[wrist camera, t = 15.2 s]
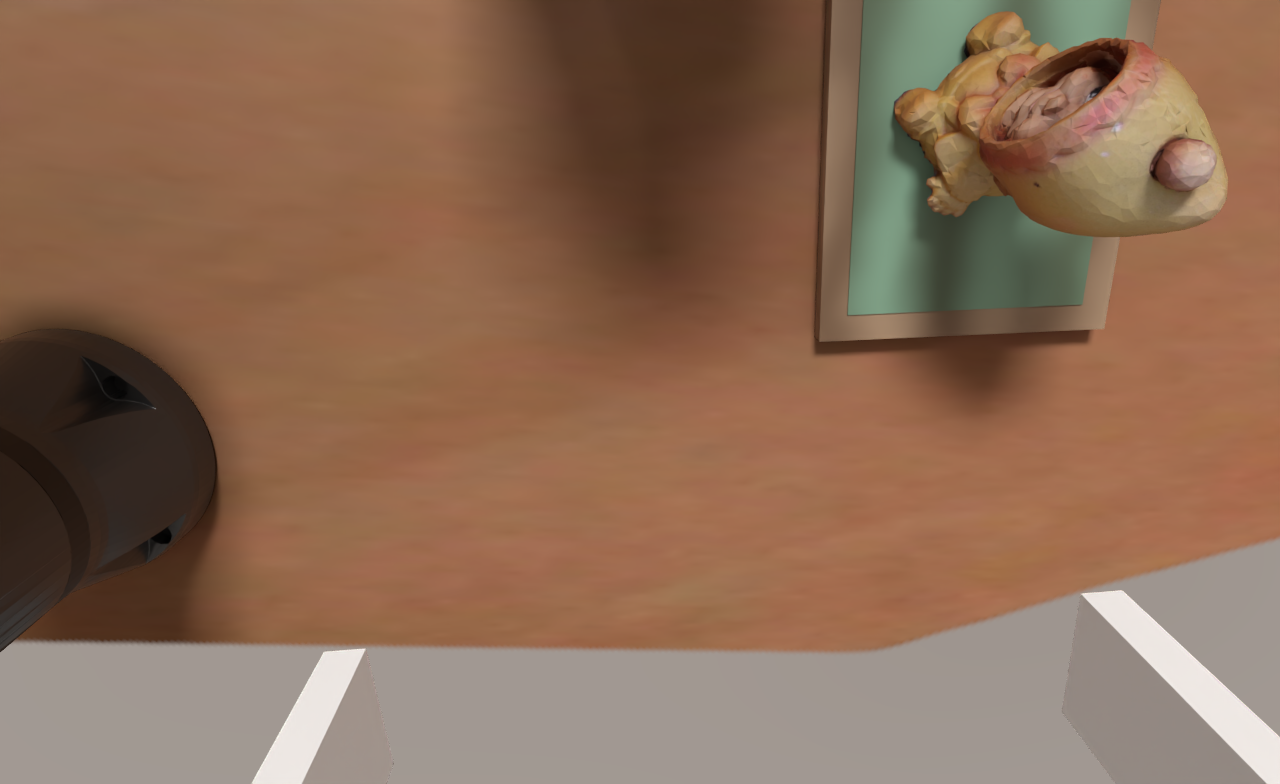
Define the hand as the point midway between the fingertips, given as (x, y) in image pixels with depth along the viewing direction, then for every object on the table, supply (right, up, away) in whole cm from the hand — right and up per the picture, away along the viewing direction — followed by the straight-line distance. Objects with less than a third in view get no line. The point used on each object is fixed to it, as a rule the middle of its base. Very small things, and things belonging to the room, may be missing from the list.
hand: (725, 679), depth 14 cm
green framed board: (+16, +19, +25) cm, 36 cm away
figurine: (+16, +19, +24) cm, 35 cm away
